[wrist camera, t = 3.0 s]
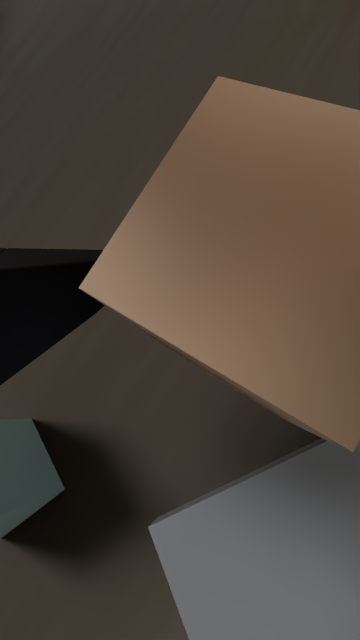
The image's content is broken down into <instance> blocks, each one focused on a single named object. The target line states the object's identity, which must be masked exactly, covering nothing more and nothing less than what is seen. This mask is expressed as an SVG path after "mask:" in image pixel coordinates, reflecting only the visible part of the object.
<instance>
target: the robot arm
mask: <svg viewBox="0 0 360 640" xmlns="http://www.w3.org/2000/svg"><path fill="white" fill-rule="evenodd" d="M102 252H103V250H75V249H22V248H8V249H6V248H0V385H1V384H3V383H4V382H5V381H7V380H8V379H9V378H11V377H12V376H13V375H15V374H16V373H17V372H19V371H20V370H21V369H23V368H24V367H25V366H27V365H28V364H29V363H31V362H32V361H33V360H35V359H36V358H37V357H39V356H40V355H41V354H43V353H44V352H45V351H47V350H48V349H49V348H51V347H52V346H53V345H55V344H56V343H57V342H58V341H60V340H61V339H62V338H64V337H65V336H66V335H68V334H69V333H70V332H72V331H73V330H74V329H76V328H77V327H78V326H80V325H81V324H82V323H84V322H85V321H86V320H88V319H89V318H90V317H92V316H93V315H94V314H95V313H97V312H98V311H99V310H100V309H101V308H102V307H103V306H104V304H102V303H101V302H99V301H98V300H96V299H95V298H93V297H92V296H90V295H89V294H87V293H86V292H84V291H83V290H81V289H80V288H79V287H80V285H81V284H82V282H83V280H84V279H85V277H86V276H87V274H88V273H89V271H90V270H91V268H92V267H93V265H94V264H95V262H96V261H97V259H98V258H99V256H100V255H101V253H102Z"/></svg>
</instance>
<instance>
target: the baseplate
mask: <svg viewBox="0 0 360 640" xmlns="http://www.w3.org/2000/svg"><path fill="white" fill-rule="evenodd" d="M148 528H149V531H150V534H151V537H152V539H153V542H154V545H155V548H156V550H157V553H158V556H159V559H160V561H161V564H162V567H163V569H164V572H165V575H166V578H167V580H168V583H169V586H170V589H171V591H172V594H173V597H174V600H175V602H176V605H177V608H178V611H179V613H180V616H181V619H182V621H183V624H184V627H185V630H186V632H187V635H188V638H189V640H360V440H359V442H358V444H357V446H356V448H355V450H354V452H351V451H349V450H347V449H345V448H342V447H340V446H338V445H336V444H334V443H332V442H330V441H328V440H325V439H323V438H321V439H319V440H317V441H315V442H312V443H310V444H308V445H306V446H304V447H302V448H300V449H298V450H296V451H294V452H292V453H290V454H288V455H285V456H283V457H281V458H279V459H277V460H275V461H273V462H271V463H269V464H267V465H265V466H263V467H261V468H258V469H256V470H254V471H252V472H250V473H248V474H246V475H244V476H242V477H240V478H238V479H236V480H234V481H231V482H229V483H227V484H225V485H223V486H221V487H219V488H217V489H215V490H213V491H211V492H209V493H207V494H204V495H202V496H200V497H198V498H196V499H194V500H192V501H190V502H188V503H186V504H184V505H182V506H180V507H177V508H175V509H173V510H171V511H169V512H167V513H165V514H163V515H161V516H159V517H157V518H156V519H155V520H154V521H153V522H152V523H151V524H150V525H149V526H148Z"/></svg>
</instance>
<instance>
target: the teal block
mask: <svg viewBox="0 0 360 640" xmlns="http://www.w3.org/2000/svg"><path fill="white" fill-rule="evenodd" d="M63 490H65V488H64V486H63V484H62V482H61V480H60V478H59V476H58V474H57V471H56V469H55V467H54V465H53V463H52V461H51V459H50V457H49V455H48V452H47V450H46V448H45V446H44V444H43V442H42V440H41V438H40V436H39V433H38V431H37V429H36V427H35V425H34V423H33V421H32V419H15V420H0V539H1V538H2V537H3V536H5V535H6V534H7V533H9V532H10V531H11V530H13V529H14V528H15V527H17V526H18V525H19V524H20V523H22V522H23V521H24V520H26V519H27V518H28V517H30V516H31V515H32V514H33V513H35V512H36V511H37V510H39V509H40V508H41V507H43V506H44V505H45V504H47V503H48V502H49V501H50V500H52V499H53V498H54V497H56V496H57V495H58V494H60V493H61V492H62V491H63Z"/></svg>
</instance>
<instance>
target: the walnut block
mask: <svg viewBox="0 0 360 640" xmlns="http://www.w3.org/2000/svg"><path fill="white" fill-rule="evenodd" d="M79 288H80V289H81V290H83V291H84V292H86V293H87V294H89V295H90V296H92V297H93V298H95V299H96V300H98V301H99V302H101V303H102V304H104V305H105V306H107V307H108V308H110V309H111V310H113V311H114V312H116V313H117V314H119V315H120V316H122V317H123V318H125V319H126V320H128V321H129V322H131V323H132V324H134V325H135V326H137V327H138V328H140V329H141V330H143V331H144V332H146V333H147V334H149V335H150V336H152V337H153V338H155V339H156V340H158V341H159V342H161V343H162V344H164V345H165V346H167V347H168V348H170V349H171V350H173V351H174V352H176V353H177V354H179V355H180V356H182V357H184V358H185V359H187V360H188V361H190V362H191V363H193V364H194V365H196V366H197V367H199V368H200V369H202V370H203V371H205V372H206V373H208V374H209V375H211V376H213V377H214V378H216V379H218V380H219V381H221V382H222V383H224V384H226V385H227V386H229V387H231V388H232V389H234V390H236V391H237V392H239V393H240V394H242V395H244V396H245V397H247V398H249V399H250V400H252V401H254V402H255V403H257V404H259V405H260V406H262V407H263V408H265V409H267V410H268V411H270V412H272V413H273V414H275V415H277V416H278V417H280V418H281V419H283V420H285V421H287V422H289V423H291V424H293V425H295V426H298V427H300V428H302V429H304V430H306V431H308V432H310V433H313V434H315V435H317V436H319V437H321V438H323V439H325V440H328V441H330V442H332V443H334V444H336V445H338V446H340V447H342V448H345V449H347V450H349V451H351V452H354V450H355V448H356V446H357V444H358V442H359V440H360V111H359V110H355V109H351V108H347V107H343V106H339V105H335V104H331V103H327V102H322V101H318V100H314V99H310V98H306V97H302V96H298V95H294V94H289V93H285V92H281V91H277V90H273V89H269V88H265V87H261V86H257V85H252V84H248V83H244V82H240V81H236V80H232V79H228V78H224V77H219V76H218V77H217V79H216V80H215V82H214V83H213V85H212V86H211V88H210V89H209V91H208V92H207V94H206V95H205V97H204V98H203V100H202V101H201V103H200V104H199V106H198V107H197V109H196V110H195V112H194V113H193V115H192V116H191V118H190V120H189V121H188V123H187V124H186V126H185V127H184V129H183V130H182V132H181V133H180V135H179V136H178V138H177V139H176V141H175V142H174V144H173V145H172V147H171V148H170V150H169V151H168V153H167V154H166V156H165V157H164V159H163V161H162V162H161V164H160V165H159V167H158V168H157V170H156V171H155V173H154V174H153V176H152V177H151V179H150V180H149V182H148V183H147V185H146V186H145V188H144V189H143V191H142V192H141V194H140V195H139V197H138V198H137V200H136V202H135V203H134V205H133V206H132V208H131V209H130V211H129V212H128V214H127V215H126V217H125V218H124V220H123V221H122V223H121V224H120V226H119V227H118V229H117V230H116V232H115V233H114V235H113V236H112V238H111V239H110V241H109V243H108V244H107V246H106V247H105V249H104V250H103V252H102V253H101V255H100V256H99V258H98V259H97V261H96V262H95V264H94V265H93V267H92V268H91V270H90V271H89V273H88V274H87V276H86V277H85V279H84V280H83V282H82V284H81V285H80V287H79Z"/></svg>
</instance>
